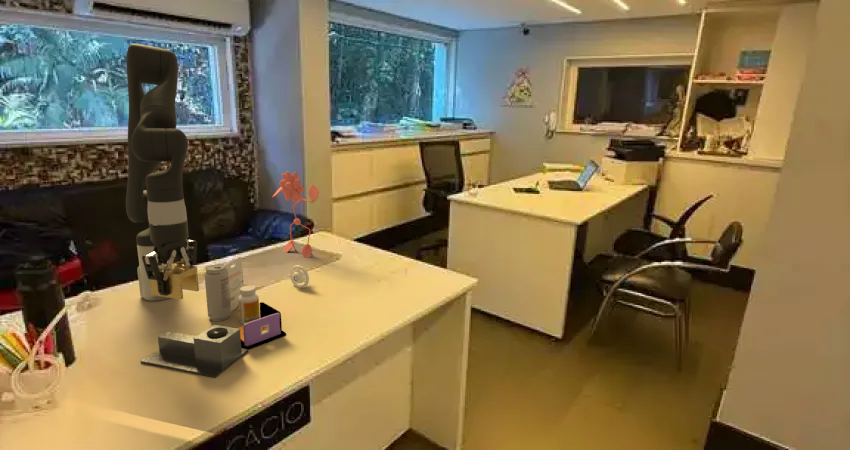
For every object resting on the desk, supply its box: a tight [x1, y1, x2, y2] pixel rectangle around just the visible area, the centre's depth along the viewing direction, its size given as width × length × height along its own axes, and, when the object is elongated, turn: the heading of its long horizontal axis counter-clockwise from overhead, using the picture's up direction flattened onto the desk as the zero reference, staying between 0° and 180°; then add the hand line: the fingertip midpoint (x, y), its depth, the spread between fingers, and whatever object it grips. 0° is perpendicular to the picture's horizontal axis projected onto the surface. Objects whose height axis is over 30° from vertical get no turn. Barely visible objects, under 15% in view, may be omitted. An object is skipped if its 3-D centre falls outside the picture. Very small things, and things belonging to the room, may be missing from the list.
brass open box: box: [150, 263, 200, 300], centre depth 106 cm, size 8×6×6 cm
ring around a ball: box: [289, 264, 310, 289], centre depth 154 cm, size 8×6×8 cm
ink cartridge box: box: [224, 256, 245, 312], centre depth 136 cm, size 9×5×15 cm, turn 170°
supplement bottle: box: [237, 285, 260, 324], centre depth 128 cm, size 5×5×10 cm
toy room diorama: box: [237, 301, 287, 351], centre depth 121 cm, size 12×12×7 cm
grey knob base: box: [140, 324, 249, 379], centre depth 109 cm, size 20×12×8 cm, turn 75°
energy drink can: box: [204, 264, 232, 322], centre depth 129 cm, size 6×6×15 cm
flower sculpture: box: [272, 170, 320, 259], centre depth 178 cm, size 15×26×35 cm, turn 57°
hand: (175, 289), depth 107 cm, fingers closed on brass open box, 5 cm apart
